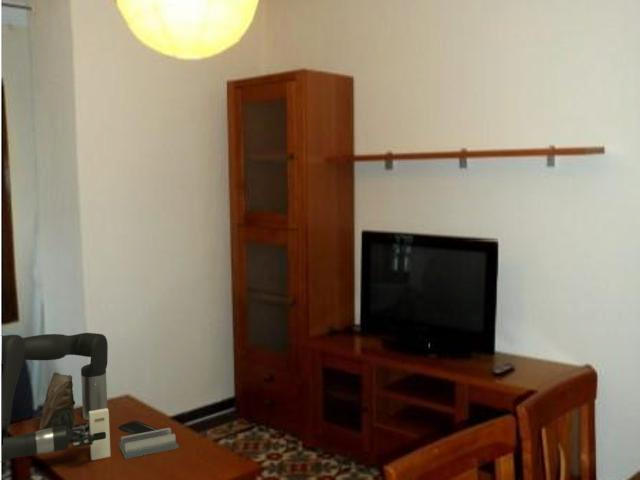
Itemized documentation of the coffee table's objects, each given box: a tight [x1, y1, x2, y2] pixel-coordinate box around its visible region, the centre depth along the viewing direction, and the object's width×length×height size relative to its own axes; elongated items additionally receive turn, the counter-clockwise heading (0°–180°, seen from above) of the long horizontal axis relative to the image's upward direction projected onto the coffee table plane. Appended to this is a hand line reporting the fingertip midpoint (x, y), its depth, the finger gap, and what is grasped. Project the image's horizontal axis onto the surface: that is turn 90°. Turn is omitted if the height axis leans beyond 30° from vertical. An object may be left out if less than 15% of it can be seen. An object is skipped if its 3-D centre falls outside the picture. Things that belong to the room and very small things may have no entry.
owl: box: [38, 372, 76, 431], centre depth 234 cm, size 13×13×20 cm
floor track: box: [118, 427, 180, 460], centre depth 217 cm, size 12×18×4 cm, turn 118°
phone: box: [118, 420, 159, 435], centre depth 232 cm, size 8×1×15 cm
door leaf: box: [88, 407, 111, 461], centre depth 209 cm, size 3×6×16 cm, turn 118°
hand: (103, 430), depth 210 cm, fingers open, 8 cm apart
